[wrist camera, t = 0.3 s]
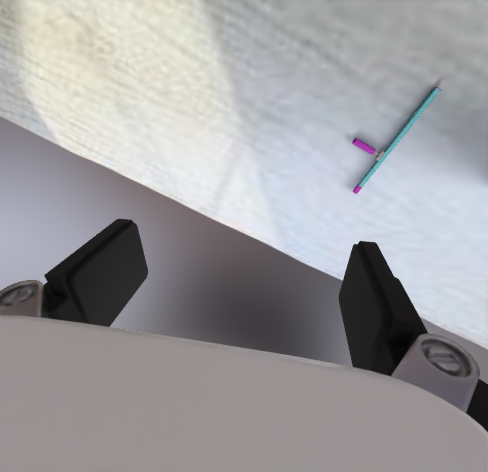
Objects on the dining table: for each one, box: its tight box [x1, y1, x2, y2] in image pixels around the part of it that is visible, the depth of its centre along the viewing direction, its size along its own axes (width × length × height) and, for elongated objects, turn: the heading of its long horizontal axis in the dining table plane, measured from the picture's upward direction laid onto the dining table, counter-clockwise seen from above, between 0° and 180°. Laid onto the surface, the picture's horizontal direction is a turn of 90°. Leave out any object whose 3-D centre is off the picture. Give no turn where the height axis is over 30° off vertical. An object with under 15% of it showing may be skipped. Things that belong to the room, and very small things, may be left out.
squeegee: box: [353, 87, 441, 194], centre depth 34 cm, size 15×1×5 cm
